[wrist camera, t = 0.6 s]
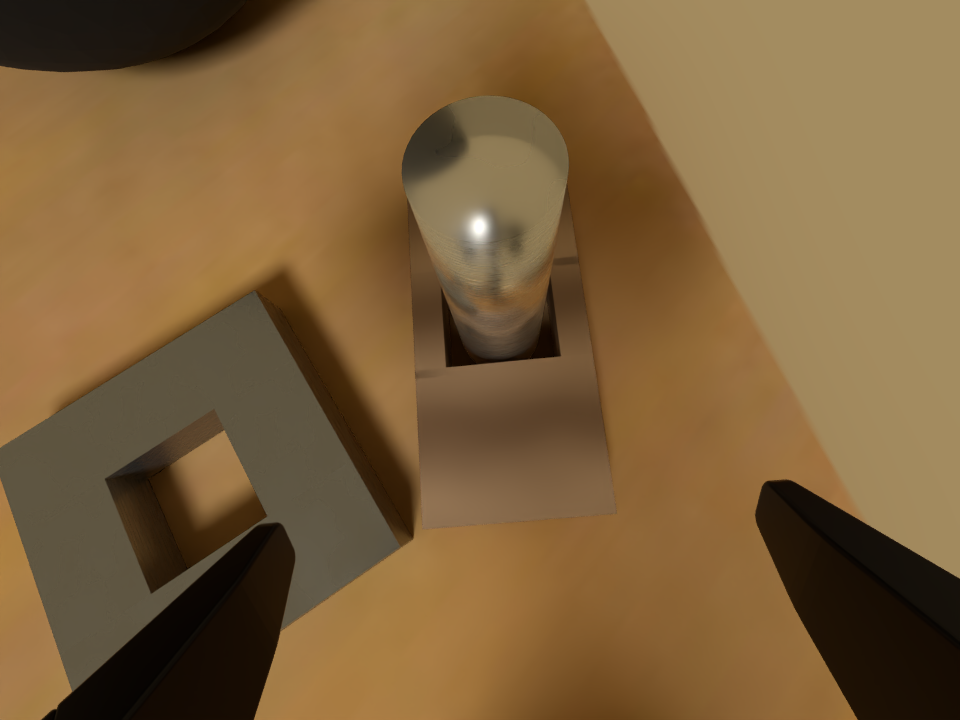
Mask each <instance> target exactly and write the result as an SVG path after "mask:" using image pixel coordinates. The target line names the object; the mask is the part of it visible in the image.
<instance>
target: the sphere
mask: <svg viewBox="0 0 960 720" xmlns="http://www.w3.org/2000/svg"><path fill="white" fill-rule="evenodd" d="M246 1H247V0H0V66H5V67H11V68H17V69H25V70H39V71H54V72H78V71H96V70H111V69H119V68H125V67H130V66H136V65H140V64H143V63H147V62H150V61H154V60H157V59H161V58H164V57H167V56H169V55H171V54H174V53H176V52H178V51H181V50H183V49H185V48H187V47H189V46H191V45H193V44H195V43H197V42H198V41H200V40H202V39H203V38H205V37H206V36H208V35H209V34H211V33H212V32H214V31H215V30H217V29H218V28H219V27H220V26H221V25H223V24H224V23H225V22H226V21H227V20H228V19H229V18H230V17H232V16H233V15H234V14H235V13H236V12H237V11H238V10H239V9H240V8H241V7H242V6H243V4H244V3H245V2H246Z"/></svg>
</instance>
